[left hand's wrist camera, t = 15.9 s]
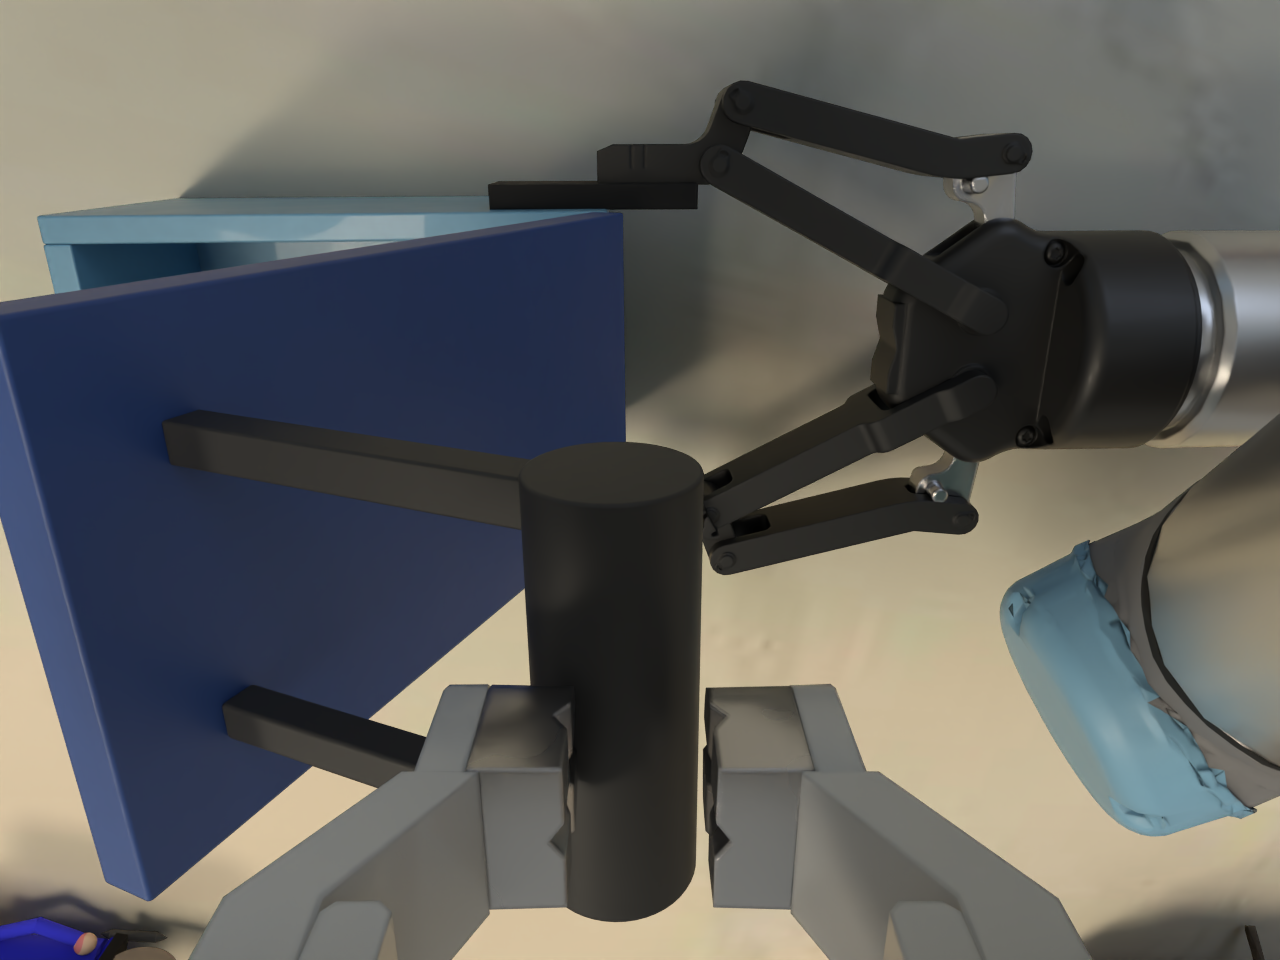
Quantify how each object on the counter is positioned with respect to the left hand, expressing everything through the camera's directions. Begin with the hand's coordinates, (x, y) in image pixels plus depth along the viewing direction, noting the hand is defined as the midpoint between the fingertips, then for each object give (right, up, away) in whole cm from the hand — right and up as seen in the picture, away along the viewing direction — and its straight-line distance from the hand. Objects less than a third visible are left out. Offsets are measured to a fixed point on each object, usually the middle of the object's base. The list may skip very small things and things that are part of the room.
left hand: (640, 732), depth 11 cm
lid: (-5, +4, +10) cm, 12 cm away
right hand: (-5, +8, +20) cm, 22 cm away
